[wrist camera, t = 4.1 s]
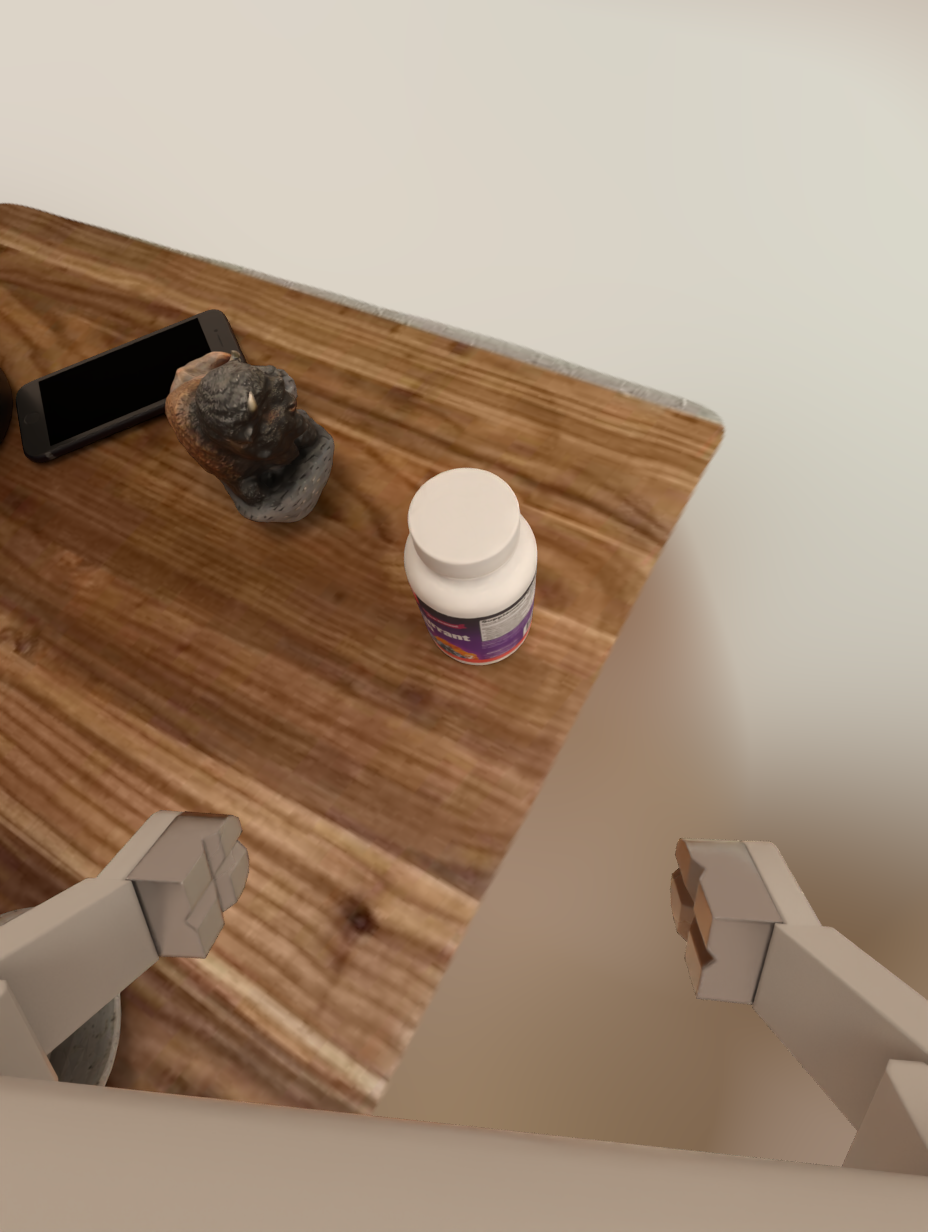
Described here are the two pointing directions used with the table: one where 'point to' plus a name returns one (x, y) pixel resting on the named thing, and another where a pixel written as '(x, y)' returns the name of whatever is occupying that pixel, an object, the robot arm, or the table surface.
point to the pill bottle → (471, 565)
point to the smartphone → (114, 386)
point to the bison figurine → (251, 435)
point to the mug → (5, 404)
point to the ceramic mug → (85, 1041)
